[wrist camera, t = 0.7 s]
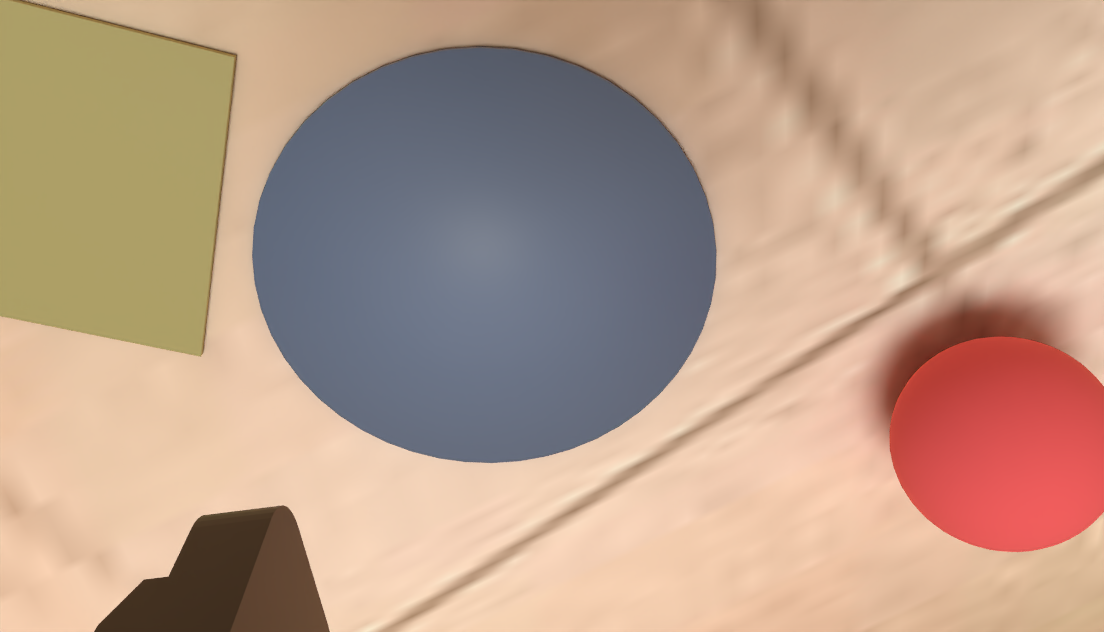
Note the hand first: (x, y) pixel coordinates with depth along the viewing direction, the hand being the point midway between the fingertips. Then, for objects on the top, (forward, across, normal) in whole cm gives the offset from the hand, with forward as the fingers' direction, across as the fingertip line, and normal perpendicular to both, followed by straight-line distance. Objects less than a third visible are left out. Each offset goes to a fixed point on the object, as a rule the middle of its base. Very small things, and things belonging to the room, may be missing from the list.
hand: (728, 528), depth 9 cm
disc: (+18, +4, +5) cm, 19 cm away
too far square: (+18, +15, 0) cm, 23 cm away
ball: (+15, -10, +11) cm, 21 cm away
